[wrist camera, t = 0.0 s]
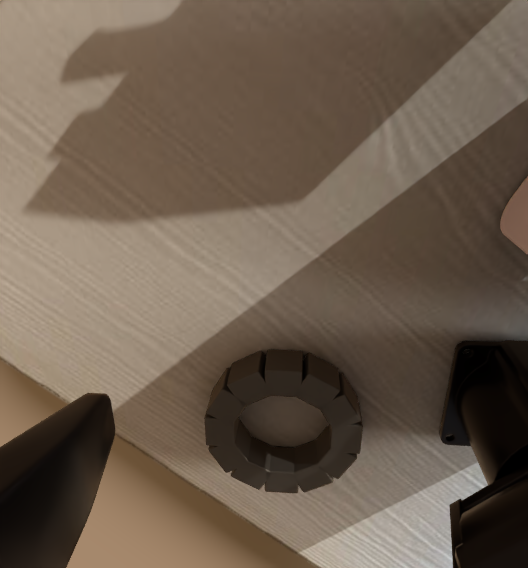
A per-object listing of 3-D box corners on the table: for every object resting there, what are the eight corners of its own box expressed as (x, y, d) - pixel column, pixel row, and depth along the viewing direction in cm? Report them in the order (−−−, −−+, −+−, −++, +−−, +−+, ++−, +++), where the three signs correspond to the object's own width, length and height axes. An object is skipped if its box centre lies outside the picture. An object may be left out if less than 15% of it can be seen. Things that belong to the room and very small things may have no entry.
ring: (352, 470, 29) (355, 497, 27) (215, 462, 30) (209, 488, 28) (363, 352, 25) (368, 374, 24) (207, 346, 26) (200, 367, 24)
